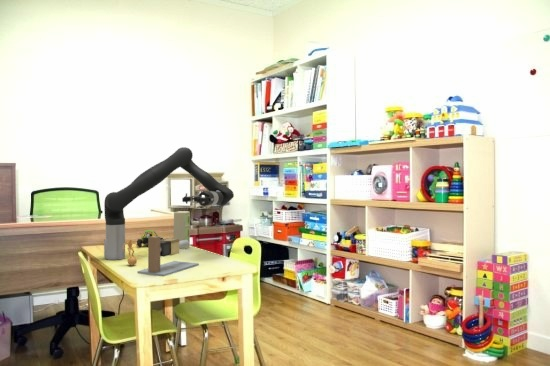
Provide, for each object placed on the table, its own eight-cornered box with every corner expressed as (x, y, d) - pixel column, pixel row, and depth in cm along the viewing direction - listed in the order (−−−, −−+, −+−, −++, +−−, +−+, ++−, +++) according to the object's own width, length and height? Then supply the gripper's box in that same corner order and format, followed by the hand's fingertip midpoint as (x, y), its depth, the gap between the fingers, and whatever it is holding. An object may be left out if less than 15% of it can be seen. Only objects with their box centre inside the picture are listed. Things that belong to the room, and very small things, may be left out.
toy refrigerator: (185, 249, 259) (185, 212, 259) (173, 249, 261) (173, 212, 260) (191, 247, 267) (191, 211, 267) (179, 247, 269) (179, 211, 268)
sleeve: (159, 254, 206) (159, 240, 206) (167, 252, 212) (167, 238, 212) (171, 255, 204) (171, 241, 203) (179, 253, 209) (179, 239, 209)
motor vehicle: (163, 243, 283) (163, 226, 283) (155, 248, 264) (155, 230, 264) (144, 243, 283) (144, 226, 283) (135, 248, 264) (135, 230, 263)
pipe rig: (137, 273, 199) (137, 236, 198) (174, 262, 223) (174, 229, 222) (163, 276, 193) (163, 238, 193) (198, 265, 217) (198, 231, 216)
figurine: (125, 267, 210) (125, 241, 210) (120, 265, 215) (119, 239, 215) (142, 265, 216) (142, 239, 216) (136, 263, 221) (136, 238, 220)
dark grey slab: (153, 255, 202) (153, 242, 202) (158, 254, 205) (158, 241, 205) (163, 256, 199) (163, 243, 199) (169, 255, 203) (169, 241, 203)
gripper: (196, 190, 243) (178, 192, 228) (220, 191, 237) (202, 192, 222) (196, 205, 243) (178, 207, 228) (220, 206, 237) (202, 208, 223)
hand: (190, 200), depth 225 cm, fingers open, 8 cm apart
